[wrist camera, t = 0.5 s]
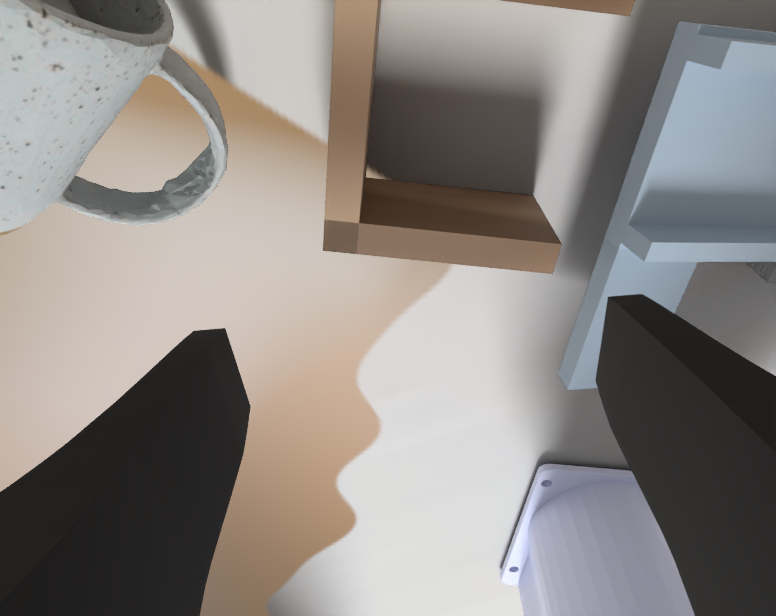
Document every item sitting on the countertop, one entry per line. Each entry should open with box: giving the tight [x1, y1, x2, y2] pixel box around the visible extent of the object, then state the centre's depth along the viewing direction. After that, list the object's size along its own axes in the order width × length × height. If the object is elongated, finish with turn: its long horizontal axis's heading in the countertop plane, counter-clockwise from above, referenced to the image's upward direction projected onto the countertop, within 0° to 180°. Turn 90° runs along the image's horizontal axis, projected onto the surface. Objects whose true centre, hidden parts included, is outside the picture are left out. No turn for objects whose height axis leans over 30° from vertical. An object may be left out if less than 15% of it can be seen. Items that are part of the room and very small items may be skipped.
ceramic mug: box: [0, 0, 228, 235], centre depth 15 cm, size 11×8×8 cm
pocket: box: [323, 0, 635, 274], centre depth 16 cm, size 8×7×4 cm
